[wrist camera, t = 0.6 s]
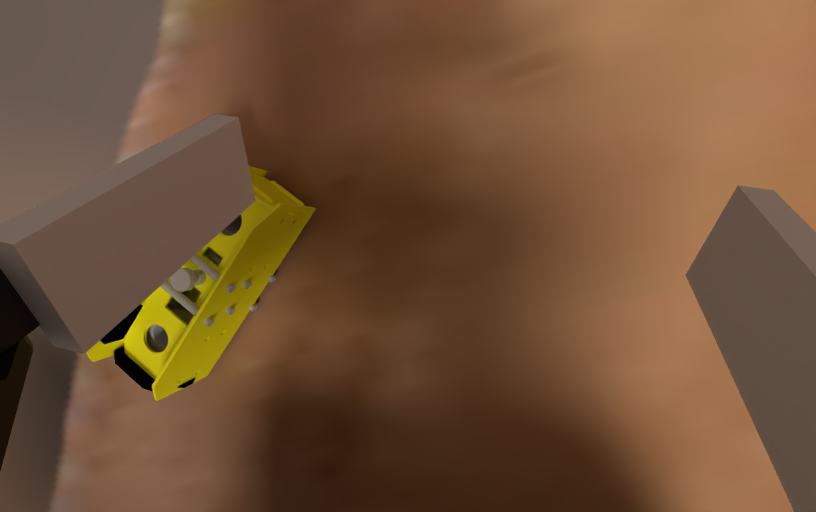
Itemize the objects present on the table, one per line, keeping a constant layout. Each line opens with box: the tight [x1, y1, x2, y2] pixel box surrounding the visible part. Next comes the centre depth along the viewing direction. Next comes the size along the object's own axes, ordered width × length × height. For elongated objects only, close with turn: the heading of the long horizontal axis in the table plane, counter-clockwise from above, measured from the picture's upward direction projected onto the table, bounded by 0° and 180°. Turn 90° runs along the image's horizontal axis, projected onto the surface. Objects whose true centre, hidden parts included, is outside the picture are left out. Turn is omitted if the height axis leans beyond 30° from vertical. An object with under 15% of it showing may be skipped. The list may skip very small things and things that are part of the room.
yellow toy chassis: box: [86, 166, 316, 401], centre depth 28 cm, size 16×6×8 cm, turn 144°
